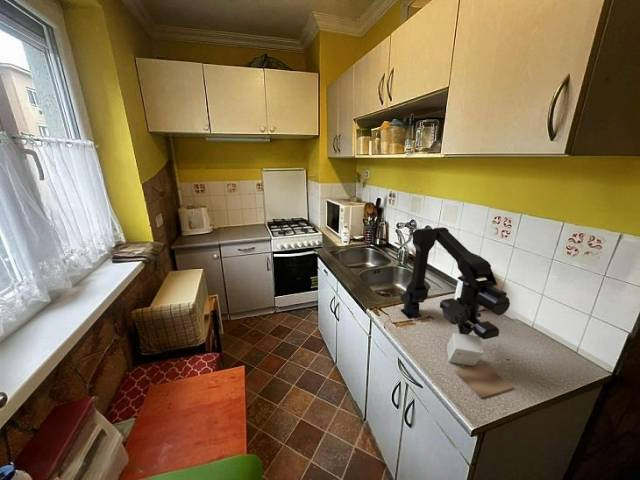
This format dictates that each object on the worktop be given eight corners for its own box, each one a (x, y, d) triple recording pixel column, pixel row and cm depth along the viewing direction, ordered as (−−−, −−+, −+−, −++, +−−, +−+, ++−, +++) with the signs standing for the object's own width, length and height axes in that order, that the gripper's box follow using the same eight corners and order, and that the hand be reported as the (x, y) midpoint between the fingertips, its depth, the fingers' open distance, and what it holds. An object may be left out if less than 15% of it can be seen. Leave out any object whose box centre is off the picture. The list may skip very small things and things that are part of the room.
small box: (471, 350, 89) (480, 336, 82) (474, 366, 85) (484, 353, 78) (446, 346, 91) (453, 332, 84) (448, 362, 87) (455, 348, 80)
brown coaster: (454, 372, 83) (455, 370, 83) (484, 364, 86) (484, 362, 86) (481, 399, 74) (481, 397, 74) (512, 388, 77) (513, 387, 77)
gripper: (429, 287, 88) (424, 326, 93) (474, 318, 71) (465, 363, 76) (456, 283, 91) (449, 320, 96) (505, 311, 74) (494, 355, 79)
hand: (462, 338), depth 87 cm, fingers closed
